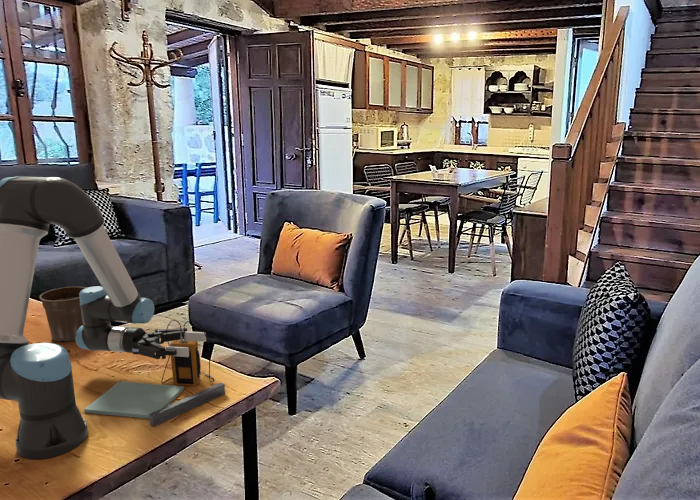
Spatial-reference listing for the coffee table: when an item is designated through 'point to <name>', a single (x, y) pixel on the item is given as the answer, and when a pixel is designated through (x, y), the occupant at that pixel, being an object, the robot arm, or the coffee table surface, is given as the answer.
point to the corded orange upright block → (186, 362)
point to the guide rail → (186, 404)
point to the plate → (134, 399)
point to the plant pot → (63, 312)
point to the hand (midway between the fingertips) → (197, 344)
